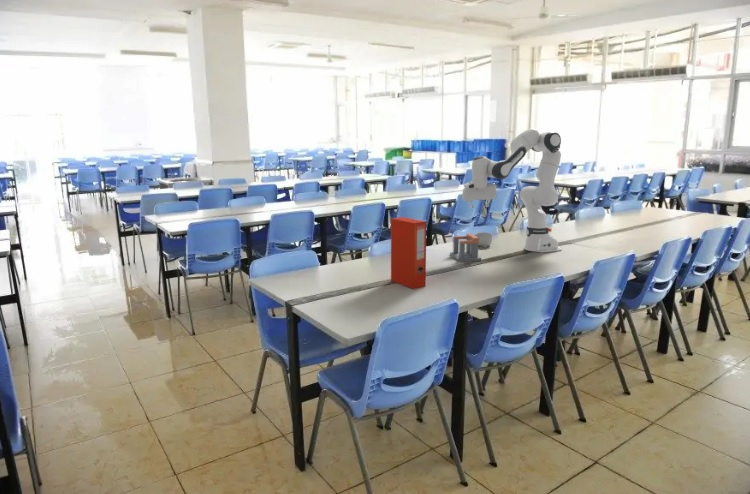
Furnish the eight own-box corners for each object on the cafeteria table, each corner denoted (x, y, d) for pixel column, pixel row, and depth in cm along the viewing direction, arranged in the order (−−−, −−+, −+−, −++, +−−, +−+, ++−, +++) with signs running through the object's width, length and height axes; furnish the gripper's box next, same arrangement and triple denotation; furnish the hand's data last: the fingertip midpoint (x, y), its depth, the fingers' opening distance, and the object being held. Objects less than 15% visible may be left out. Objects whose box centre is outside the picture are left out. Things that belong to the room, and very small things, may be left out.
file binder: (403, 278, 268) (403, 216, 261) (425, 286, 254) (426, 221, 247) (391, 281, 263) (390, 218, 256) (413, 289, 250) (413, 223, 243)
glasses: (471, 238, 315) (471, 233, 314) (478, 243, 301) (478, 238, 300) (453, 239, 313) (453, 234, 313) (460, 243, 300) (460, 238, 299)
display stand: (472, 253, 319) (472, 236, 316) (481, 260, 302) (481, 242, 300) (450, 254, 317) (450, 237, 314) (457, 261, 300) (458, 243, 298)
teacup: (490, 244, 344) (491, 232, 343) (492, 247, 334) (493, 235, 332) (469, 244, 346) (469, 232, 344) (470, 247, 335) (470, 235, 333)
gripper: (494, 182, 312) (494, 205, 316) (461, 184, 310) (461, 207, 313) (498, 183, 306) (498, 207, 310) (464, 185, 304) (464, 209, 307)
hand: (479, 207), depth 311 cm, fingers open, 8 cm apart
